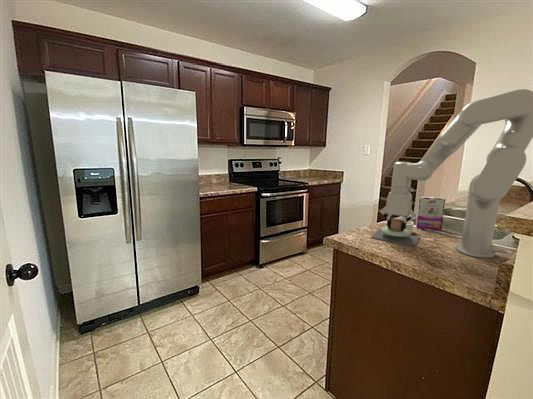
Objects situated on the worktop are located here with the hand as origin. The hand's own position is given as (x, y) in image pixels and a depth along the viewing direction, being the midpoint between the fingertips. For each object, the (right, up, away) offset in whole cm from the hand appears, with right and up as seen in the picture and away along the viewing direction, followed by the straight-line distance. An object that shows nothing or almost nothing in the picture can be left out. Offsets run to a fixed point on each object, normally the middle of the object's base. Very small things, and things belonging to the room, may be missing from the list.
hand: (395, 228), depth 121 cm
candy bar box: (+24, -2, +16) cm, 29 cm away
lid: (0, -2, 0) cm, 2 cm away
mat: (0, -4, +1) cm, 4 cm away
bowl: (+7, -2, +11) cm, 13 cm away
